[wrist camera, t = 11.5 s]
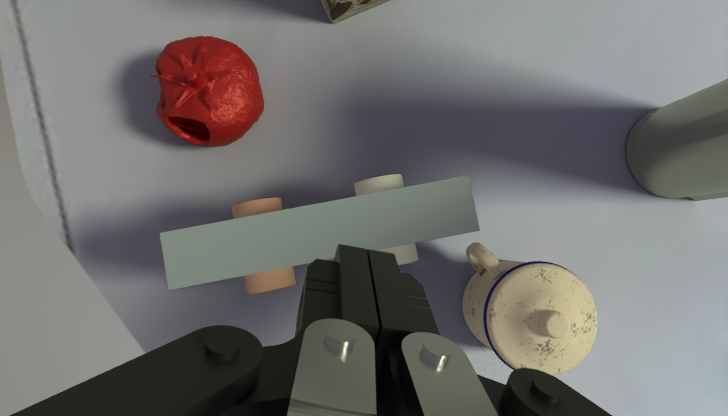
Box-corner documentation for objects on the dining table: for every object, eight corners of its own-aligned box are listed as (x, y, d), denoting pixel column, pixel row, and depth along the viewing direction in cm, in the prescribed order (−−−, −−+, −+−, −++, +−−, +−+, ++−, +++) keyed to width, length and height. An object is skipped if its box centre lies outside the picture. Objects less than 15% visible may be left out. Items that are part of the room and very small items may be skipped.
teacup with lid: (569, 312, 45) (644, 335, 34) (498, 371, 45) (550, 416, 33) (492, 216, 46) (540, 207, 34) (421, 273, 45) (445, 283, 34)
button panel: (214, 235, 45) (159, 232, 32) (434, 194, 46) (468, 175, 33) (221, 276, 45) (168, 290, 32) (443, 233, 46) (479, 230, 33)
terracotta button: (237, 209, 39) (225, 205, 35) (284, 200, 39) (277, 195, 35) (252, 291, 39) (240, 296, 35) (299, 281, 39) (293, 286, 35)
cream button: (353, 187, 40) (353, 181, 36) (399, 178, 40) (404, 171, 36) (368, 267, 39) (370, 270, 35) (414, 258, 39) (422, 260, 35)
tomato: (234, 38, 47) (206, -15, 38) (288, 118, 46) (274, 84, 37) (149, 90, 46) (99, 49, 37) (203, 173, 45) (167, 152, 36)
